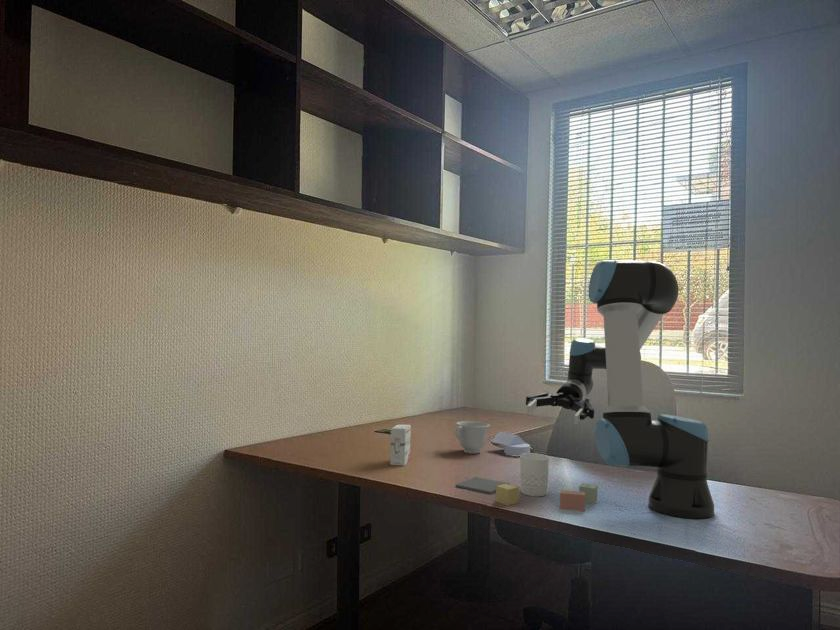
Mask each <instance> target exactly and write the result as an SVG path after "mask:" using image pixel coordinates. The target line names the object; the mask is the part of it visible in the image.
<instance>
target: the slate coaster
mask: <svg viewBox="0 0 840 630" xmlns="http://www.w3.org/2000/svg"><path fill="white" fill-rule="evenodd" d="M503 484H510V483H508V482H503V481H499V480H494V479H488V478H485V477H484V478H483V477H478V476H474V477H471V478H468V479H466V480H464V481H461V482H459V483H455V487H456V488H461V489H465V490H469V491H474V492H480V493H484V494H489V495H493V494H494V493H496V486H499V485H503Z"/></svg>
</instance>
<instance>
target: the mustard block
mask: <svg viewBox="0 0 840 630" xmlns="http://www.w3.org/2000/svg"><path fill="white" fill-rule="evenodd" d="M519 489H520V488H519V486H516V485H512V484H510V483H509V484H503V485H499V486H496V492H495V493H496V495H495V502H497V503H500V504H503V505H505V506H511V505H515V504H518V503H519V492H520V491H519Z"/></svg>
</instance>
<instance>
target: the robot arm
mask: <svg viewBox="0 0 840 630" xmlns="http://www.w3.org/2000/svg"><path fill="white" fill-rule="evenodd" d="M588 284H589V285H588V298H589V301H590V302H591V303H593V304H596V307H597V308H596V310H597V313H599V314H600V315H601V316H602V317H603V329H604V345H596V342H595V340H593V339H590V338H583V337H582V338H581V337H579V338H573V340H572V341H571V344H570V349H569V357H568V359H569V360H568V361H569V362H568V370H567V380H566V382H564V383H563V385H561V387H560V388H558V389H557V391H556V393H553V394H550V391H548V390H546V391H543V392H541V393H536V394H532V395H526V397H525V405H526V415H528V416H530V415H531V414H532V413H533V412H534V411H535V410H536V409H537V407H547V406H551V407H561V408H563V409H565V410H571V411H574V412H575V414H574V418H573V419H574V420H573V425H575V426H577V425H578V424H579V422H580V421H581V420H582V421H583V420H585V419H587V418H590V419H594V417H595V408H594V407H593V406H592V404H591V403H590V399H588V398H586V397H587V396H588V395H589V394H590V393H591V391H592V390H593V387H594V379H593V377H592V376H593V370H606V382H607V383H606V385H607V402H608V406H607V408H605V409H604V410H603V412H602V418H600V419H598V420H597V422H596V423H595V441H596V446H597V450H598V453H599V455H600V456H601V458H602V460H603V461H604V462H605V463H606V464H607V465H609V466H612V467H613V466H614V467H622V468H629V467H630V468H656V475H655V479H654V482H653V485H652V487H651V490H650V491H649V495H648V507H650V508H651V510H654V511H656V512H658V513H661V514H664V515H667V516H672V517H673V516H674V517H678V518H685V519H708V518H707V517H709V518H711V516H712V517H714V515H715V504H714V500H713V497H712V494H711V490H710V488H709V487H710V486H709V484H708V459H709V458H708V455H709V454H708V453H709V452H708V451H709V450H708V449H709V448H708V447H709V443H710V442H709V441H710V440H709V433H708V426H707V424H705V423H704V422H702V421H699V420H696V419H693V418H688V417H684V416H678V415H672V414H665V413H663V414H662V413H659V414H658V415H657V418H656V419H655V420H654V419H653V420H652V414H651V411H650V410H649V409H648V408H647V407H646V406H645V405H644V404H645V402H644V390H643V388H644V387H643V377H642V376H643V374H642V373H643V372H642V362H641V360H642V354H641V349H642V347H643V346H644V344H645V343H646V341H647V340H648V339H649V337H650V335H651V334H652V332H653V331H654V330H655V328H656V327H657V325H658V324H659V322H660V320H661V319H662V317H663V316H664V315H666V314H668V313H670V312H671V310H672V309H673V308H674V306H675V304H676V302H677V300H678V296H679V283H678V280H677V277H676V275H675V274H674V273H673V271H672V270H671V269H670V268H669V267H668V266H666V265H665V264H663V263H660V262H657V261H654V260H647V261H646V260H644V261H643V260H626V259H625V260H624V259H623V260H621V259H609V260H608V259H607V260H606V259H605V260H604V259H603V260H601V261H598V262H597V264H595V266H594V268H593V269H592V273H591V275H590V278H589V283H588Z"/></svg>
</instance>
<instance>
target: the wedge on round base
mask: <svg viewBox="0 0 840 630" xmlns="http://www.w3.org/2000/svg"><path fill="white" fill-rule="evenodd" d="M491 443H495V444H499V445H504V447H503V454H504V453H505V454H507V455H506V456H508V455H517V456H518V455H521V454H524V453H531V444H529V443H527V442H525V441H524V440H523V439H522V438H521V437H520V436H519V435H518V434H515V433H510V432H504V431H500V430H499V432H498V433H497V434H496V435H495V436H494V438H493V439H492V440H491ZM505 454H504V455H505Z"/></svg>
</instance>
